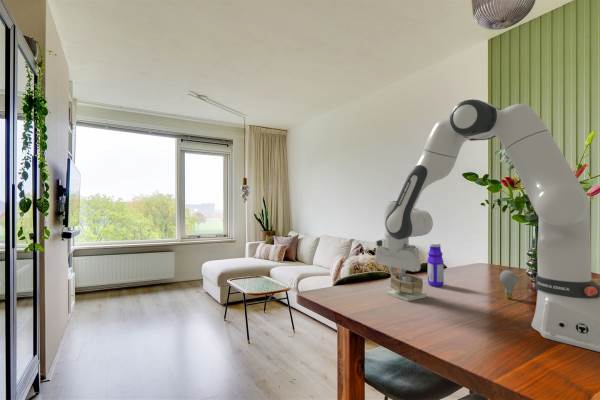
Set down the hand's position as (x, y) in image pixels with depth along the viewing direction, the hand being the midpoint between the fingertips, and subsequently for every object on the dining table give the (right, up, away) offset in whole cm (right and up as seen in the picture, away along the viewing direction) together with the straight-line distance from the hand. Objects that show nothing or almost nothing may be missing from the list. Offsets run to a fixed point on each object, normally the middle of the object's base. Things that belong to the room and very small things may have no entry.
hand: (397, 279), depth 125 cm
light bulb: (+37, -5, -9) cm, 38 cm away
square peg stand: (+2, -5, -4) cm, 7 cm away
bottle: (+19, -5, +11) cm, 23 cm away
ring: (+2, -2, -4) cm, 5 cm away
